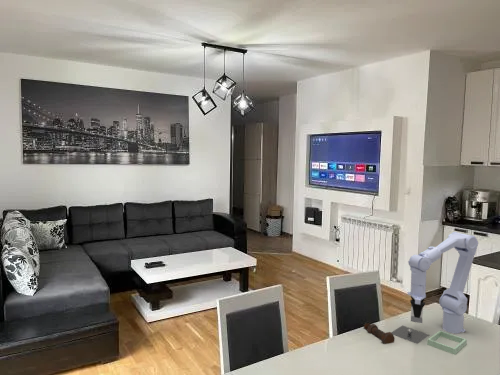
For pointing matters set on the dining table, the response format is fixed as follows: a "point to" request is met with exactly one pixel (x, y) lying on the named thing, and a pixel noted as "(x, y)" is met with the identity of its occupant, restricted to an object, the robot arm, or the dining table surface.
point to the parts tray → (446, 348)
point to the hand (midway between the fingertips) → (417, 315)
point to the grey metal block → (414, 319)
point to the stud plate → (410, 334)
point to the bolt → (380, 333)
